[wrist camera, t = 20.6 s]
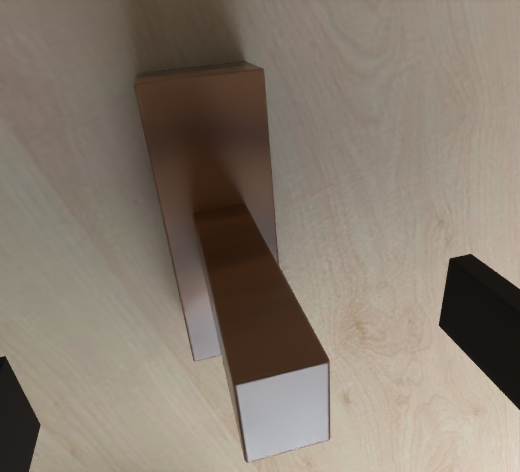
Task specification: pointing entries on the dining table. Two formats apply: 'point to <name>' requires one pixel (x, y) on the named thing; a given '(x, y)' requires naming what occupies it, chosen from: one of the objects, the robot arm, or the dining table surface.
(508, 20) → the dining table surface
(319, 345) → the brush
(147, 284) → the dining table surface
